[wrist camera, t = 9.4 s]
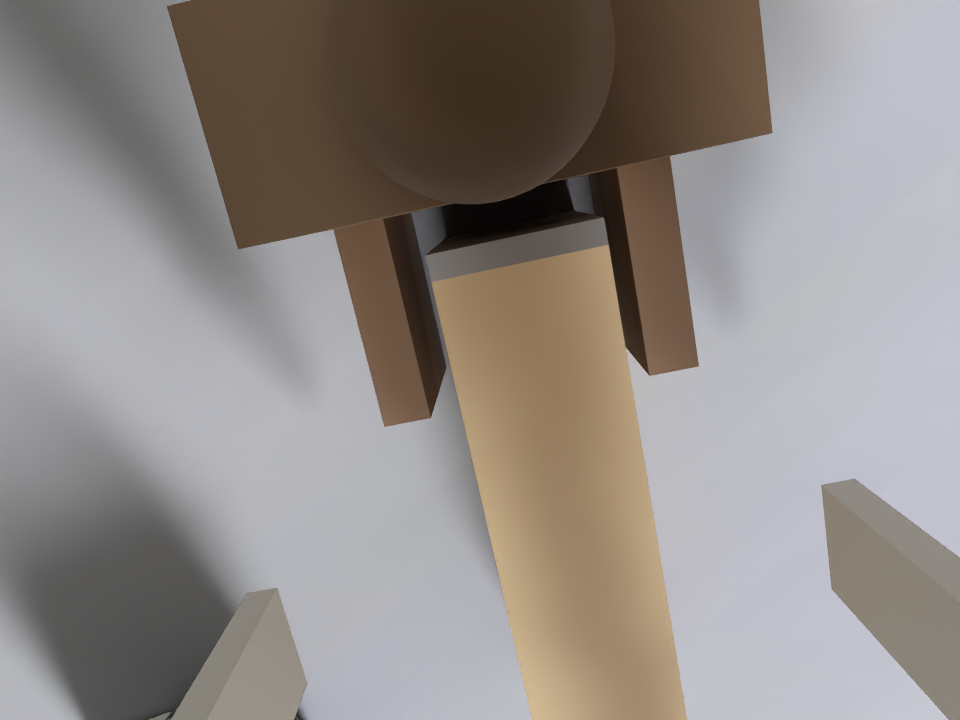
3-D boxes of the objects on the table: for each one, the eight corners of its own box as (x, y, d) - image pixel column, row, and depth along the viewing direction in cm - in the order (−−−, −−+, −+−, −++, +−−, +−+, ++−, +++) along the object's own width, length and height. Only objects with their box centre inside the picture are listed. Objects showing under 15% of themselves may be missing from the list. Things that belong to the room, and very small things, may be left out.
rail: (540, 664, 24) (553, 813, 18) (446, 238, 21) (425, 255, 15) (650, 646, 24) (699, 792, 18) (574, 210, 20) (604, 217, 14)
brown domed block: (410, 374, 22) (247, 701, 8) (347, 117, 20) (-18, -69, 6) (652, 326, 21) (954, 587, 7) (611, 56, 19) (910, -315, 5)
